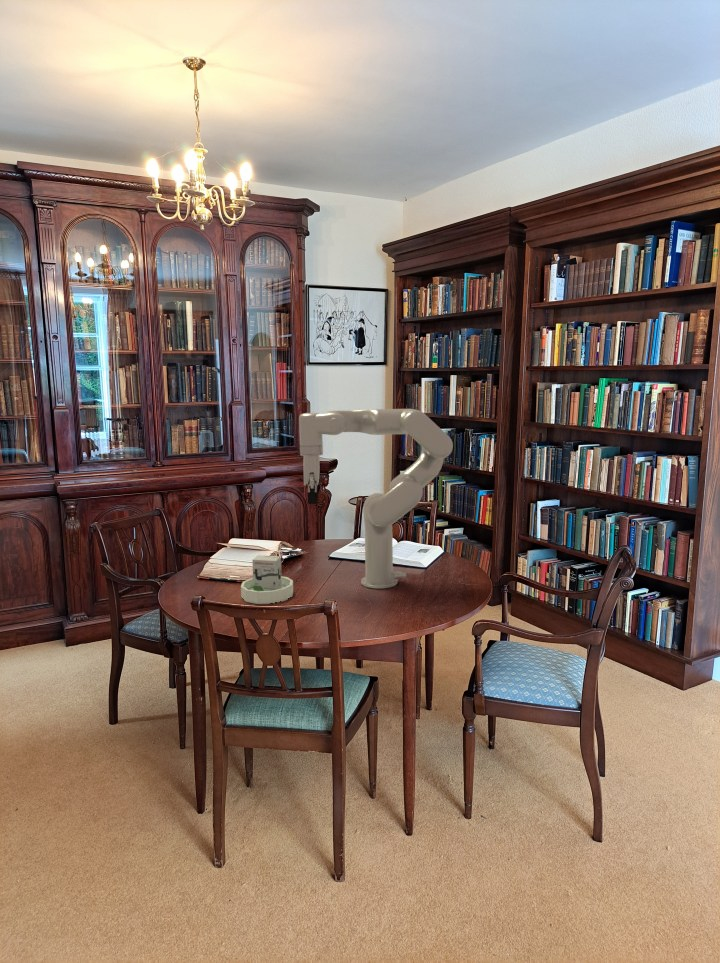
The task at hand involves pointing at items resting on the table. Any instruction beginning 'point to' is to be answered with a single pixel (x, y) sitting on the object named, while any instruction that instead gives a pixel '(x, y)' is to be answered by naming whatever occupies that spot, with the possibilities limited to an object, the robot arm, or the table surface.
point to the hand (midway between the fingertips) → (313, 501)
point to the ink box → (267, 573)
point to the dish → (266, 592)
